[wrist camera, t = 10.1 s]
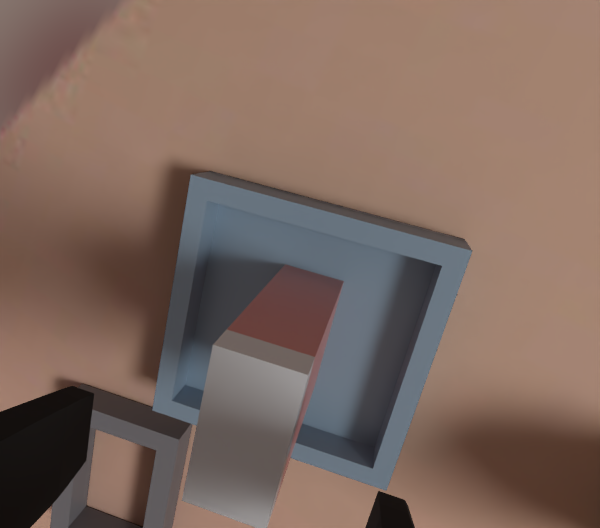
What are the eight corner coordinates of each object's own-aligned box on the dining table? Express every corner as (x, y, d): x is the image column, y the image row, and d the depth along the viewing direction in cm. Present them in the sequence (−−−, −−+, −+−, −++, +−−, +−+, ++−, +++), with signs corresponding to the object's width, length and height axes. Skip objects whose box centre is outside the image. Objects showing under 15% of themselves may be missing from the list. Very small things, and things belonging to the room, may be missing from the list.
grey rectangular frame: (68, 513, 26) (49, 535, 25) (82, 383, 24) (62, 399, 22) (167, 551, 26) (153, 576, 24) (192, 421, 23) (179, 439, 22)
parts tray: (172, 387, 23) (152, 410, 21) (210, 171, 20) (190, 174, 18) (387, 459, 21) (386, 490, 20) (464, 239, 18) (472, 251, 16)
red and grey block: (260, 369, 21) (182, 500, 13) (285, 264, 19) (212, 345, 12) (314, 386, 21) (265, 531, 13) (343, 281, 19) (308, 375, 12)
